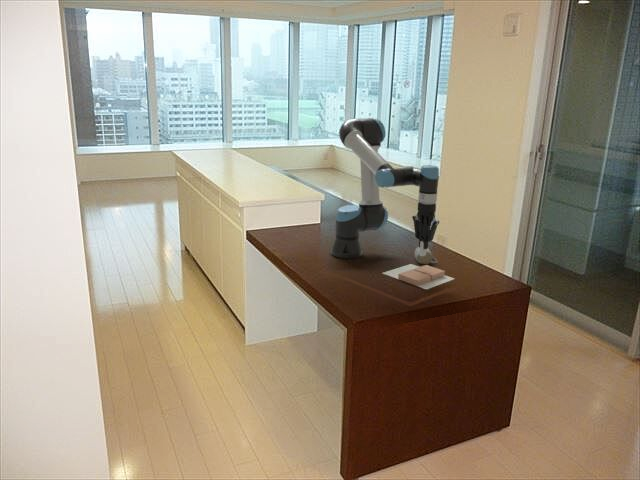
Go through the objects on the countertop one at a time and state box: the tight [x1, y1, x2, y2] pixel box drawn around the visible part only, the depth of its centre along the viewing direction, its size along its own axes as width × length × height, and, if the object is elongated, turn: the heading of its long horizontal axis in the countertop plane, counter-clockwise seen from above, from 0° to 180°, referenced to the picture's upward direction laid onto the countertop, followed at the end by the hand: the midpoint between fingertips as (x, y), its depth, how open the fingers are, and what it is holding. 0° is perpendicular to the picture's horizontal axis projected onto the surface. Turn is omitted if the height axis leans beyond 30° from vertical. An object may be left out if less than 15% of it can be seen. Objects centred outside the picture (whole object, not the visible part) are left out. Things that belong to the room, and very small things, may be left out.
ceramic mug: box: [414, 246, 439, 265], centre depth 247 cm, size 11×8×8 cm
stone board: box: [382, 263, 455, 290], centre depth 229 cm, size 24×20×1 cm
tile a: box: [397, 270, 431, 286], centre depth 223 cm, size 2×9×10 cm
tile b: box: [413, 264, 446, 280], centre depth 230 cm, size 2×9×10 cm
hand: (422, 255), depth 230 cm, fingers closed
